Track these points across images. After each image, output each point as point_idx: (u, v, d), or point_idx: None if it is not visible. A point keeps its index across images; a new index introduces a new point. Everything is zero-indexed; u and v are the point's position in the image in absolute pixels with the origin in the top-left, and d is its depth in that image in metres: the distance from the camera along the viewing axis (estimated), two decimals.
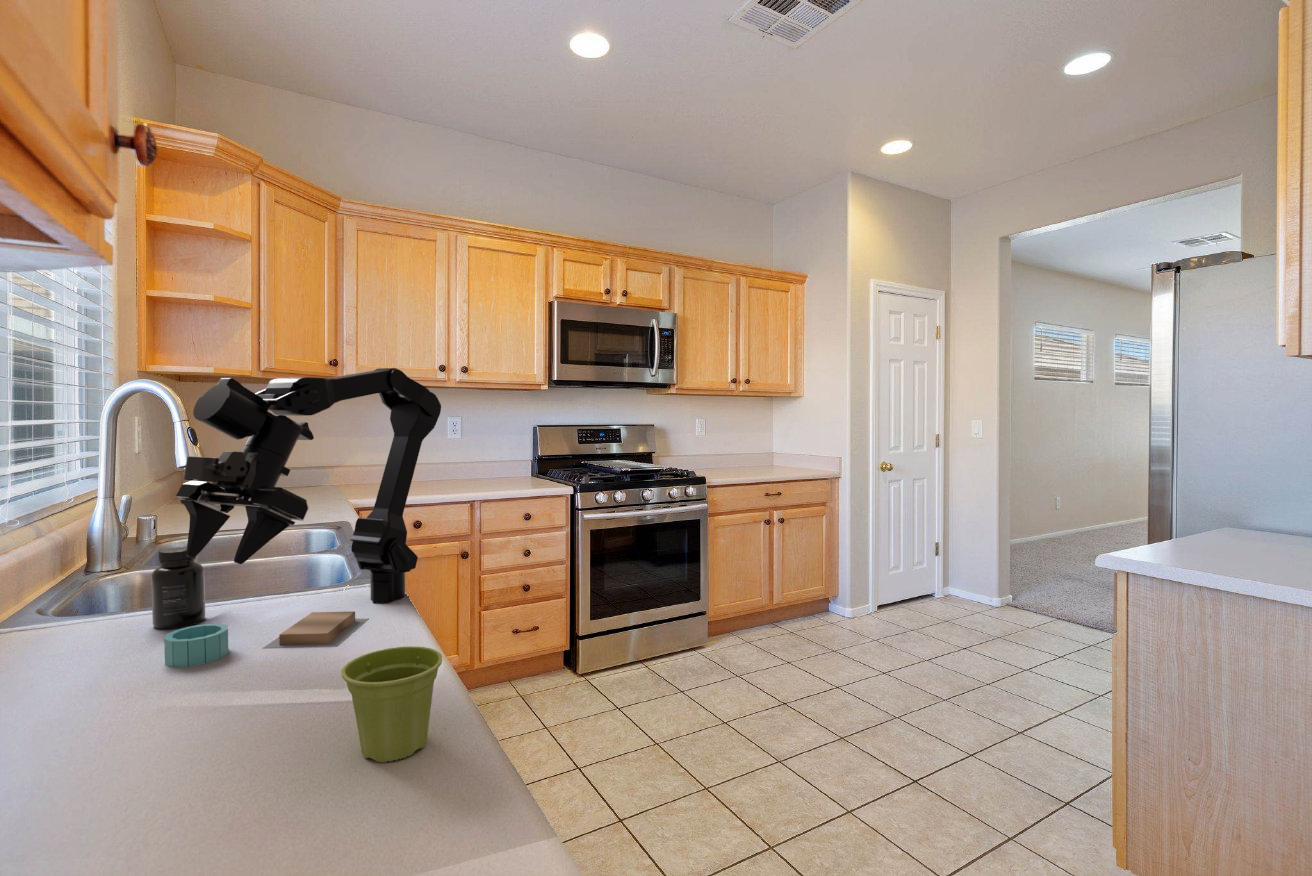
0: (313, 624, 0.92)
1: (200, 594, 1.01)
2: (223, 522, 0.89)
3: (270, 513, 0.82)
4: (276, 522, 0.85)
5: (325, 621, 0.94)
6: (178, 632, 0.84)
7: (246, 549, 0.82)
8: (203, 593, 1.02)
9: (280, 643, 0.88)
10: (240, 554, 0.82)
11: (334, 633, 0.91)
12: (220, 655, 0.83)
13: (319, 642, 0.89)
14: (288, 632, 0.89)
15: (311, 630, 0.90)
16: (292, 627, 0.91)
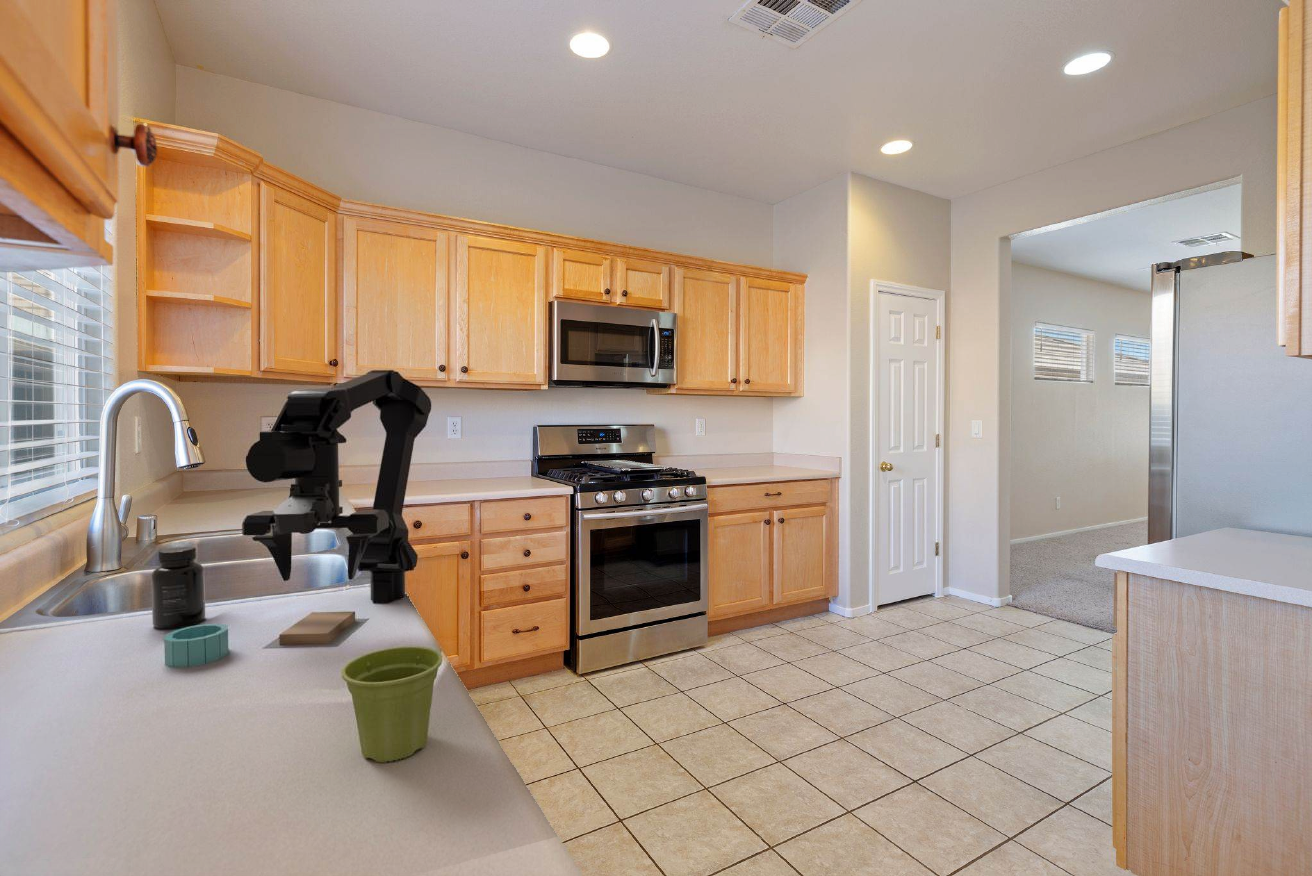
0: (313, 624, 0.92)
1: (200, 594, 1.01)
2: (291, 538, 0.95)
3: (370, 536, 0.92)
4: None
5: (325, 621, 0.94)
6: (178, 632, 0.84)
7: (355, 567, 0.93)
8: (203, 593, 1.02)
9: (280, 643, 0.88)
10: (352, 572, 0.93)
11: (334, 633, 0.91)
12: (220, 655, 0.83)
13: (319, 642, 0.89)
14: (288, 632, 0.89)
15: (311, 630, 0.90)
16: (292, 627, 0.91)
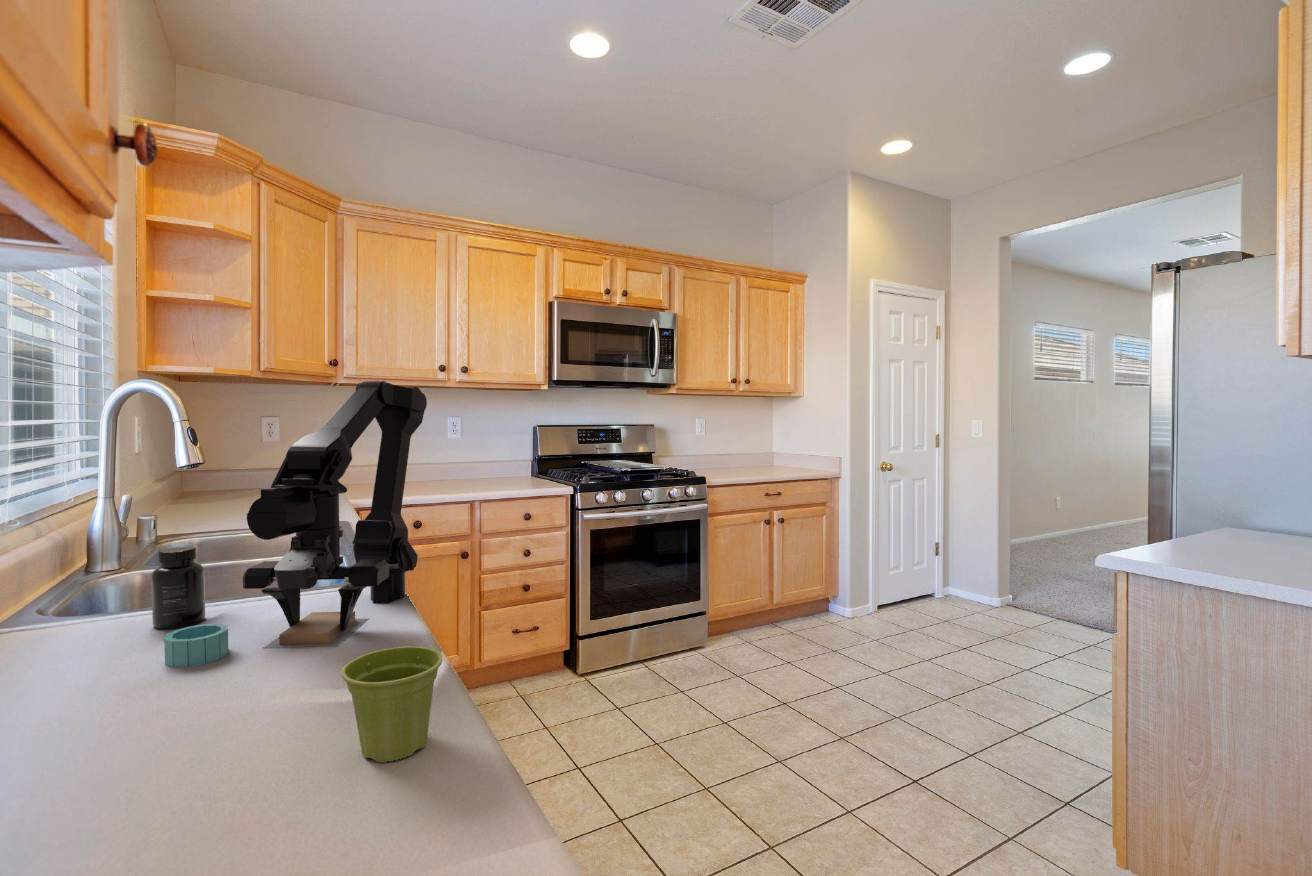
0: (313, 624, 0.92)
1: (200, 594, 1.01)
2: (299, 588, 0.95)
3: (363, 588, 0.92)
4: None
5: (325, 621, 0.94)
6: (178, 632, 0.84)
7: (347, 618, 0.93)
8: (203, 593, 1.02)
9: (280, 643, 0.88)
10: (345, 624, 0.93)
11: (334, 633, 0.91)
12: (220, 655, 0.83)
13: (319, 642, 0.89)
14: (288, 632, 0.89)
15: (311, 630, 0.90)
16: (292, 627, 0.91)
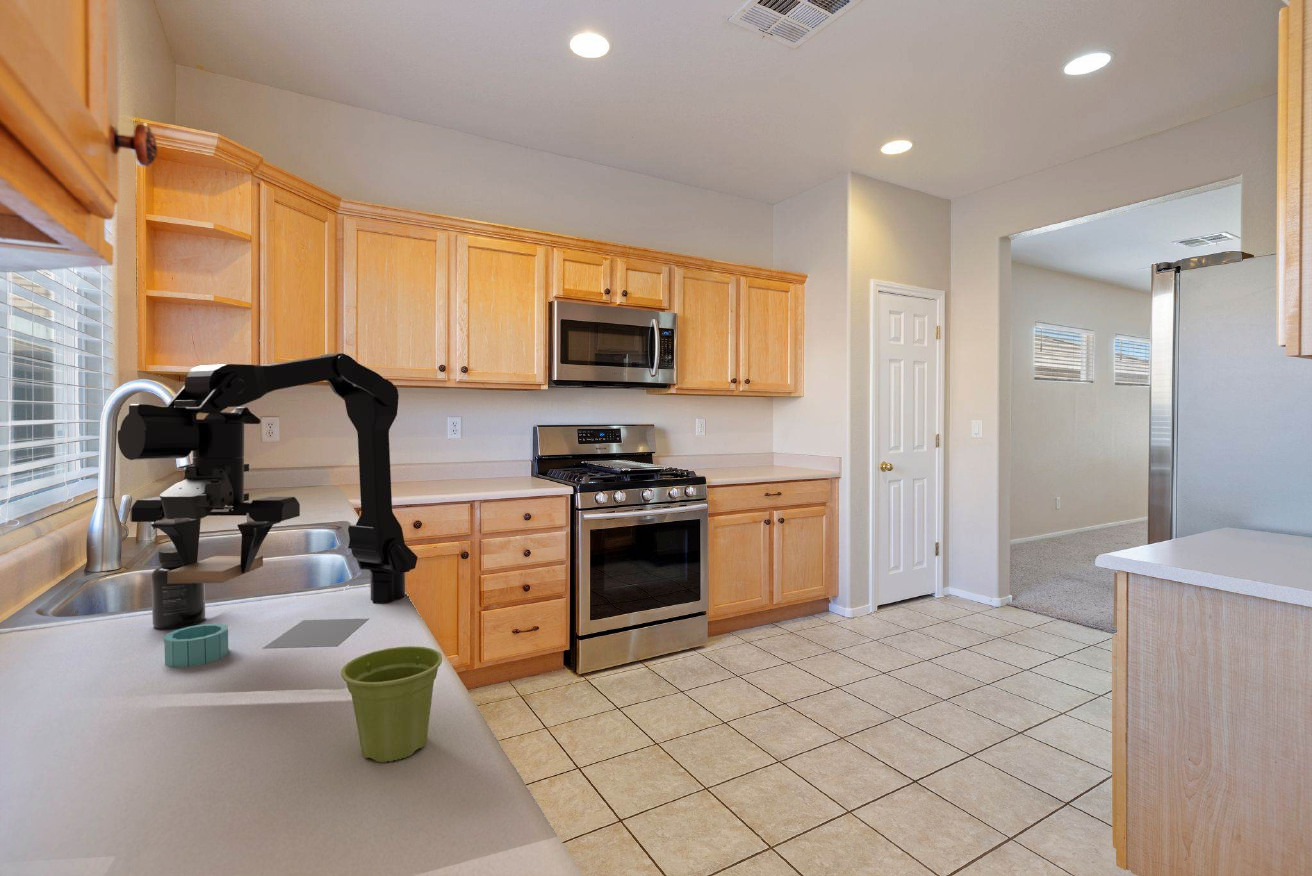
0: (210, 564, 0.84)
1: (200, 594, 1.01)
2: (199, 527, 0.87)
3: (266, 524, 0.84)
4: None
5: (225, 562, 0.85)
6: (178, 632, 0.84)
7: (249, 559, 0.85)
8: (203, 593, 1.02)
9: (168, 581, 0.79)
10: (246, 565, 0.85)
11: (232, 573, 0.82)
12: (220, 655, 0.83)
13: (212, 581, 0.80)
14: (178, 570, 0.80)
15: (205, 568, 0.81)
16: (185, 566, 0.82)
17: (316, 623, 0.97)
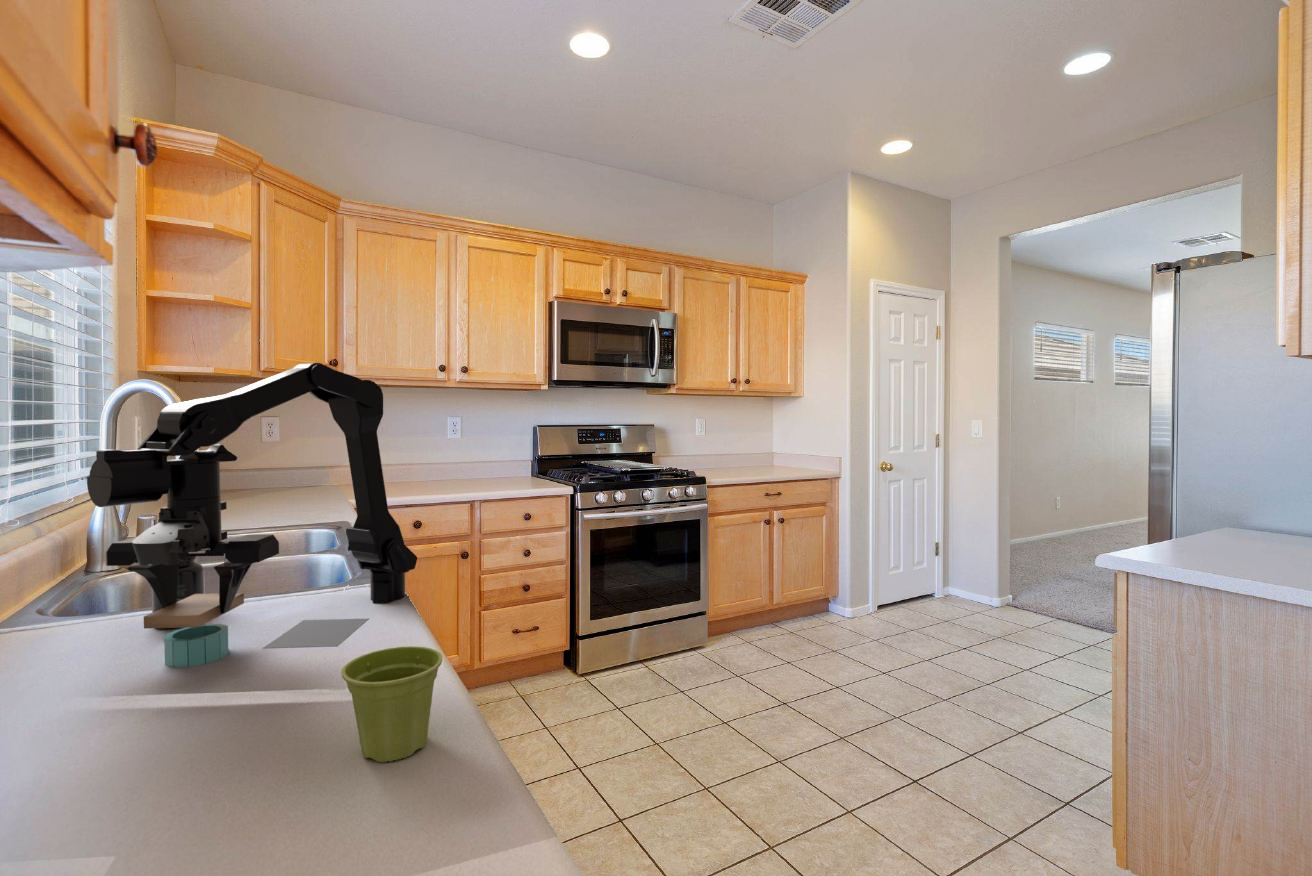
0: (189, 606, 0.83)
1: None
2: (177, 567, 0.85)
3: (244, 565, 0.83)
4: None
5: (204, 602, 0.84)
6: (178, 632, 0.84)
7: (228, 599, 0.84)
8: (203, 593, 1.02)
9: (145, 626, 0.78)
10: (225, 606, 0.83)
11: (210, 615, 0.81)
12: (220, 655, 0.83)
13: (189, 625, 0.79)
14: (154, 615, 0.79)
15: (182, 612, 0.80)
16: (163, 609, 0.81)
17: (316, 623, 0.97)
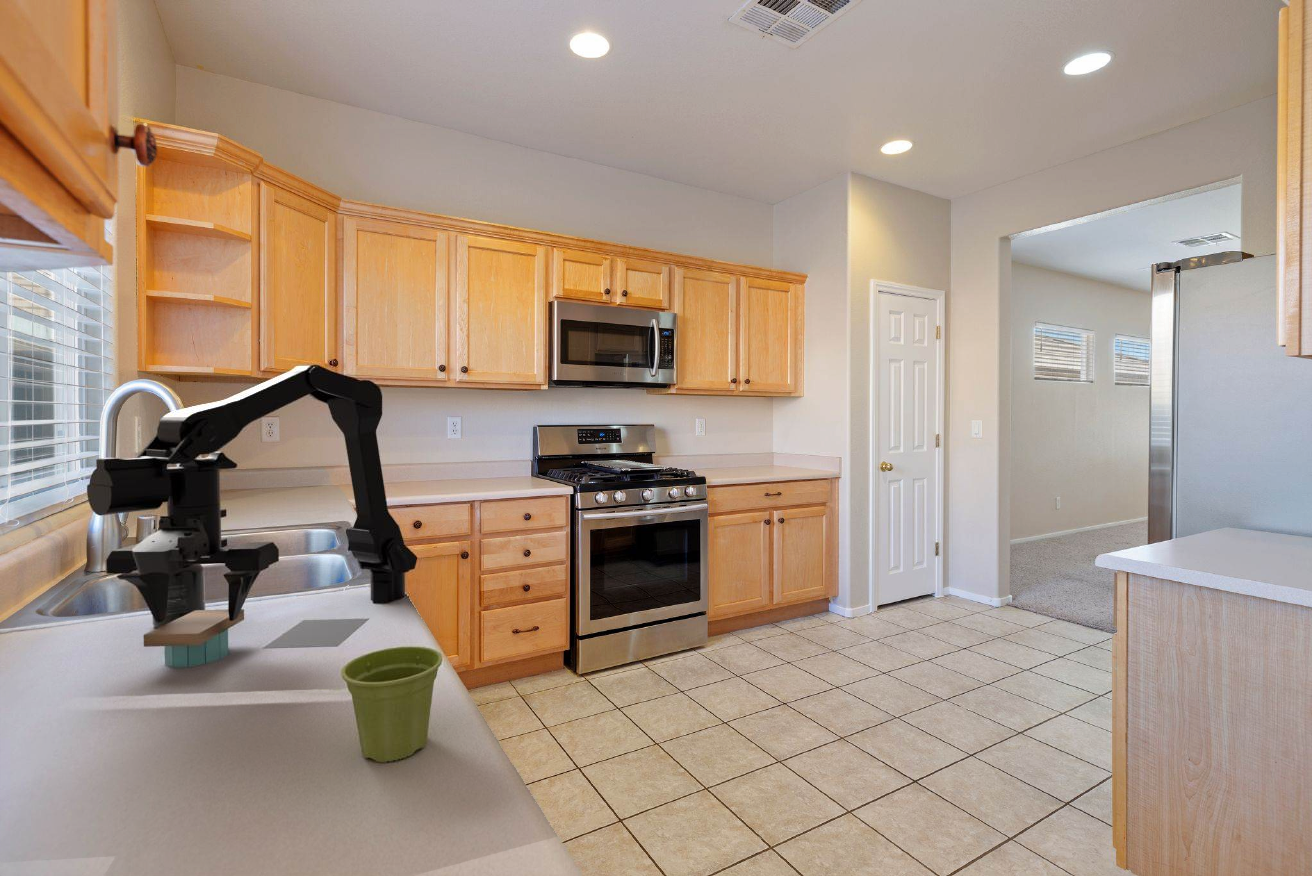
0: (189, 623, 0.83)
1: (200, 594, 1.01)
2: (168, 574, 0.85)
3: (253, 573, 0.83)
4: None
5: (204, 620, 0.84)
6: None
7: (237, 606, 0.84)
8: (203, 593, 1.02)
9: (144, 644, 0.78)
10: (234, 613, 0.84)
11: (209, 633, 0.81)
12: (220, 655, 0.83)
13: (189, 643, 0.79)
14: (154, 633, 0.79)
15: (182, 630, 0.80)
16: (163, 626, 0.81)
17: (316, 623, 0.97)
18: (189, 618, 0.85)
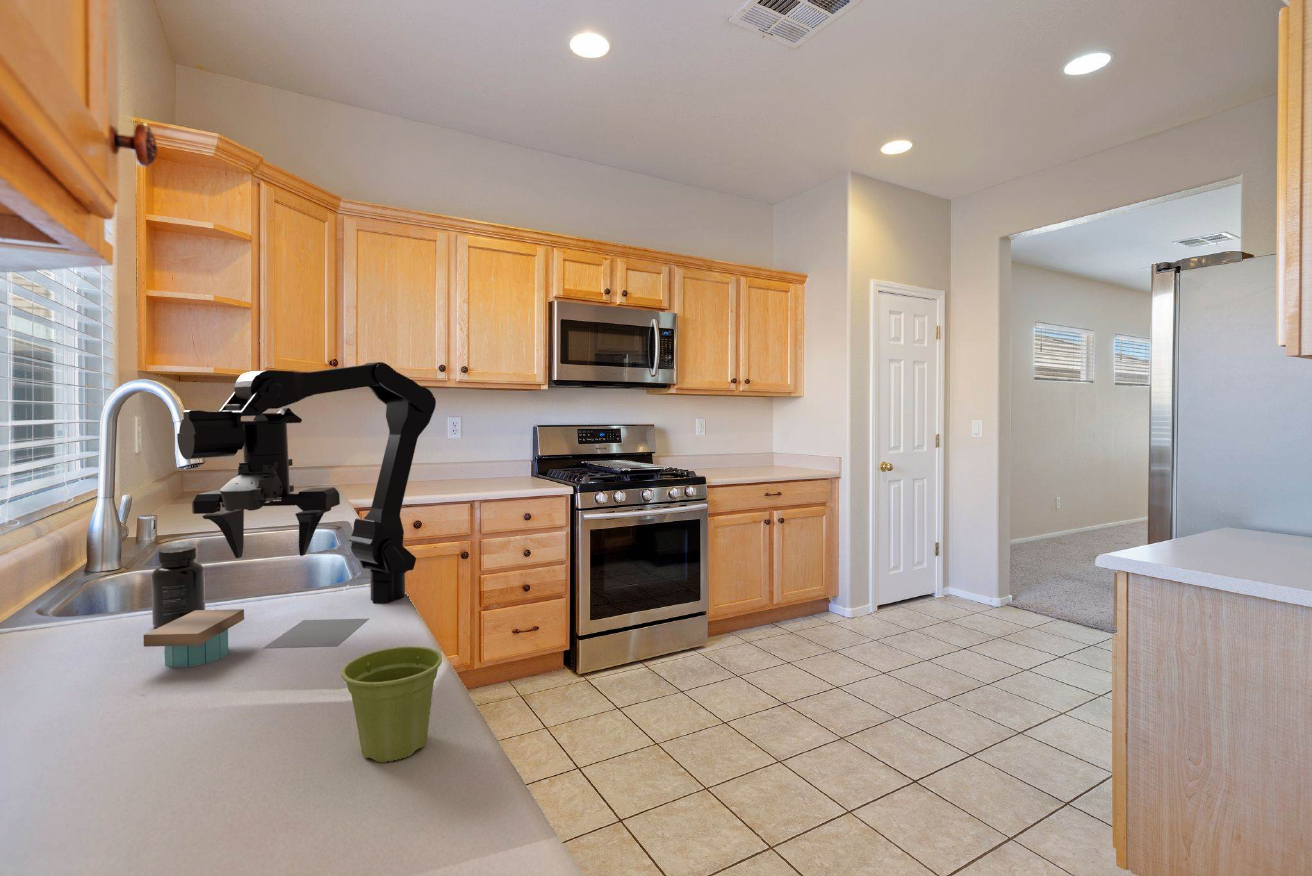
0: (189, 623, 0.83)
1: (200, 594, 1.01)
2: (243, 517, 0.97)
3: (320, 513, 0.94)
4: None
5: (204, 620, 0.84)
6: None
7: (306, 543, 0.95)
8: (203, 593, 1.02)
9: (144, 644, 0.78)
10: (304, 549, 0.95)
11: (209, 633, 0.81)
12: (220, 655, 0.83)
13: (189, 643, 0.79)
14: (154, 633, 0.79)
15: (182, 630, 0.80)
16: (163, 626, 0.81)
17: (316, 623, 0.97)
18: (189, 618, 0.85)
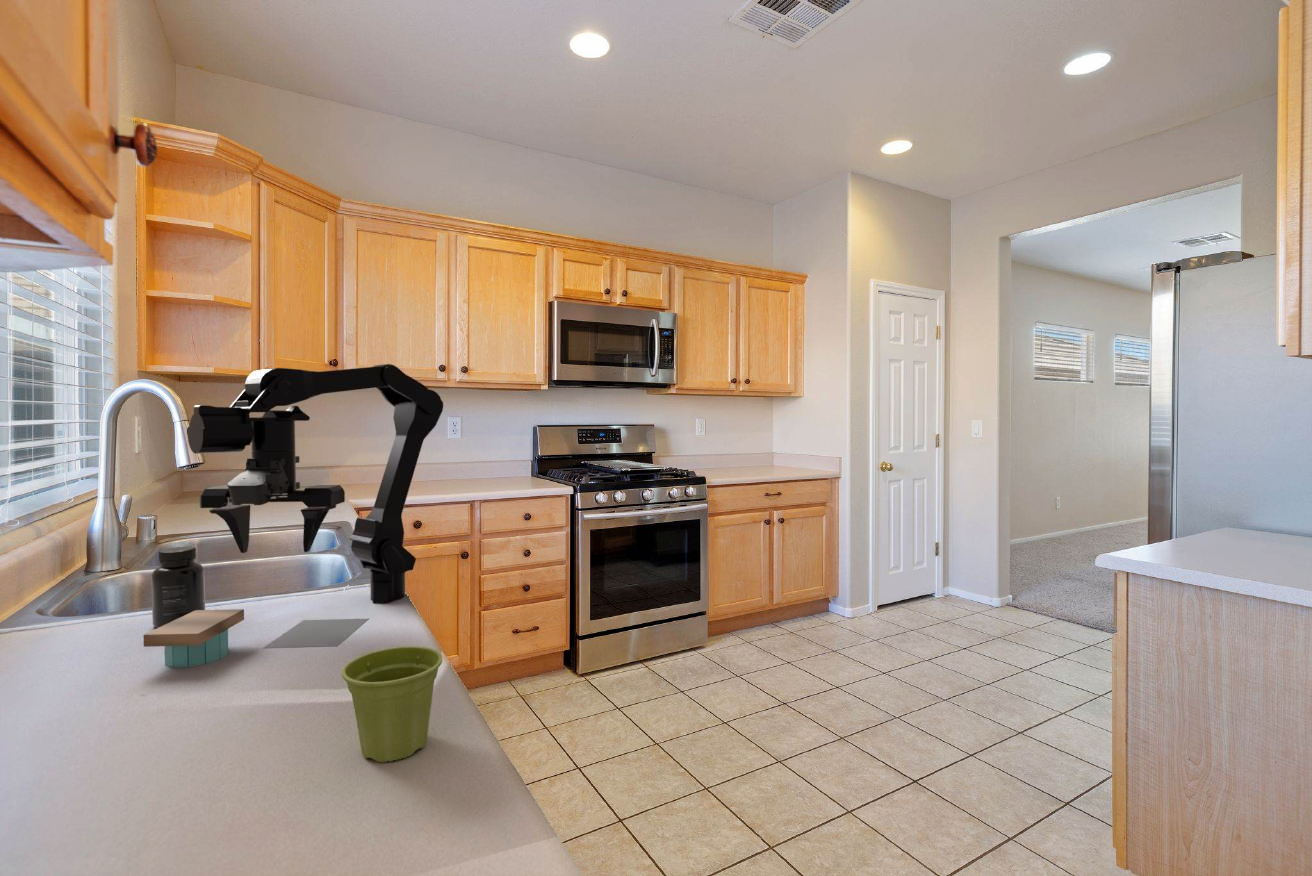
0: (189, 623, 0.83)
1: (200, 594, 1.01)
2: (249, 513, 0.98)
3: (325, 509, 0.95)
4: None
5: (204, 620, 0.84)
6: None
7: (310, 539, 0.96)
8: (203, 593, 1.02)
9: (144, 644, 0.78)
10: (308, 545, 0.96)
11: (209, 633, 0.81)
12: (220, 655, 0.83)
13: (189, 643, 0.79)
14: (154, 633, 0.79)
15: (182, 630, 0.80)
16: (163, 626, 0.81)
17: (316, 623, 0.97)
18: (189, 618, 0.85)
